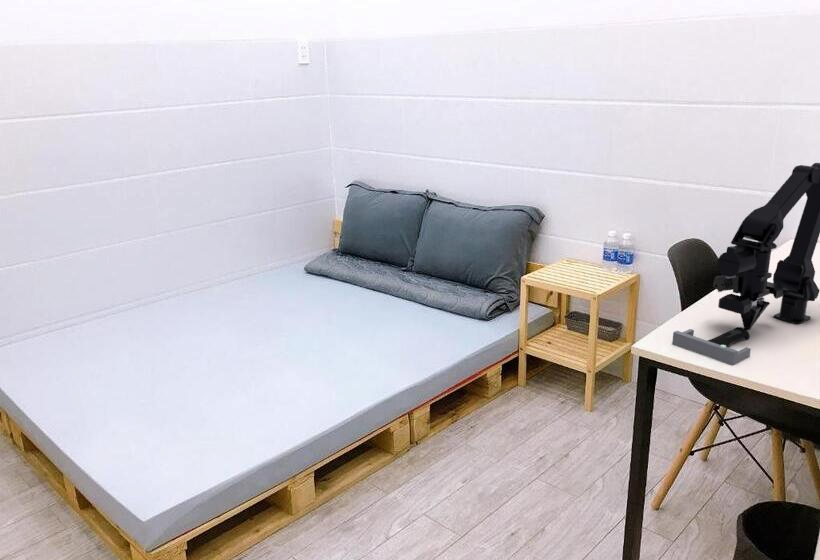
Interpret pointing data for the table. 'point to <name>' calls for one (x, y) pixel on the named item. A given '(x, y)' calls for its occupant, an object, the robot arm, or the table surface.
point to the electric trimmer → (731, 336)
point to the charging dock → (709, 347)
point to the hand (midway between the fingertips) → (747, 329)
